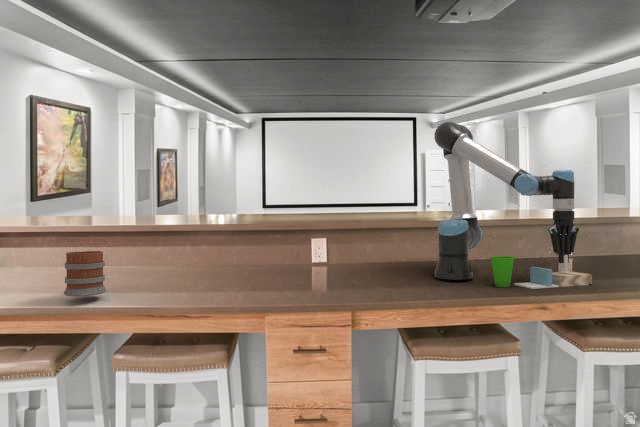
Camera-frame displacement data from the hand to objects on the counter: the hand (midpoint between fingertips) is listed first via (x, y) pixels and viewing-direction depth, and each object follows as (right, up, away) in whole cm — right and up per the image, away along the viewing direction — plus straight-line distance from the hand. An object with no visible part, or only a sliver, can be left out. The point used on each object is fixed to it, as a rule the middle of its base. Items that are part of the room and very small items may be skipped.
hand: (563, 271), depth 192 cm
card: (-9, -1, -3) cm, 10 cm away
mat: (-12, -5, -4) cm, 14 cm away
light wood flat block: (+1, -5, 0) cm, 5 cm away
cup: (-25, -5, -4) cm, 26 cm away
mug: (-179, -7, -9) cm, 179 cm away
